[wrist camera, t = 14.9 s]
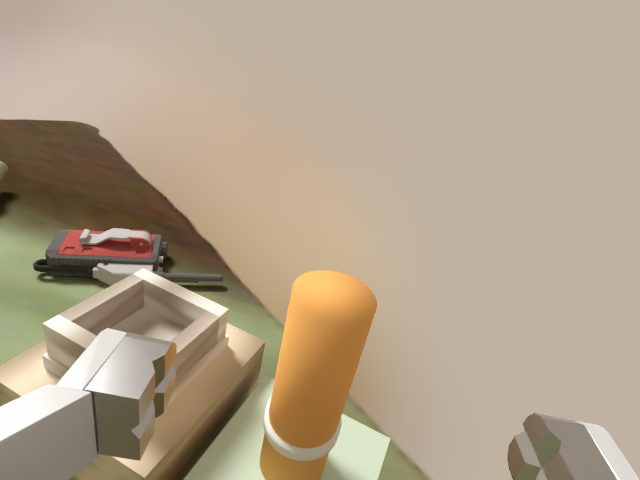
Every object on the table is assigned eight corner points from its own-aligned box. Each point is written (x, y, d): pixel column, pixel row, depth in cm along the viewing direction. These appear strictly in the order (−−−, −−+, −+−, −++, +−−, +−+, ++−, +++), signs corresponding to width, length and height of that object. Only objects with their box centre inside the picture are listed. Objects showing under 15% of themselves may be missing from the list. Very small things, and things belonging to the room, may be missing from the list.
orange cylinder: (339, 458, 25) (396, 298, 19) (297, 515, 22) (349, 343, 16) (287, 416, 27) (323, 258, 21) (241, 463, 24) (267, 291, 18)
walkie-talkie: (26, 290, 42) (222, 293, 48) (20, 254, 40) (225, 262, 46) (53, 246, 49) (220, 254, 55) (49, 214, 47) (223, 226, 53)
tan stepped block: (252, 410, 34) (271, 305, 29) (145, 555, 24) (144, 434, 19) (143, 350, 37) (143, 246, 32) (9, 455, 27) (-26, 328, 22)
